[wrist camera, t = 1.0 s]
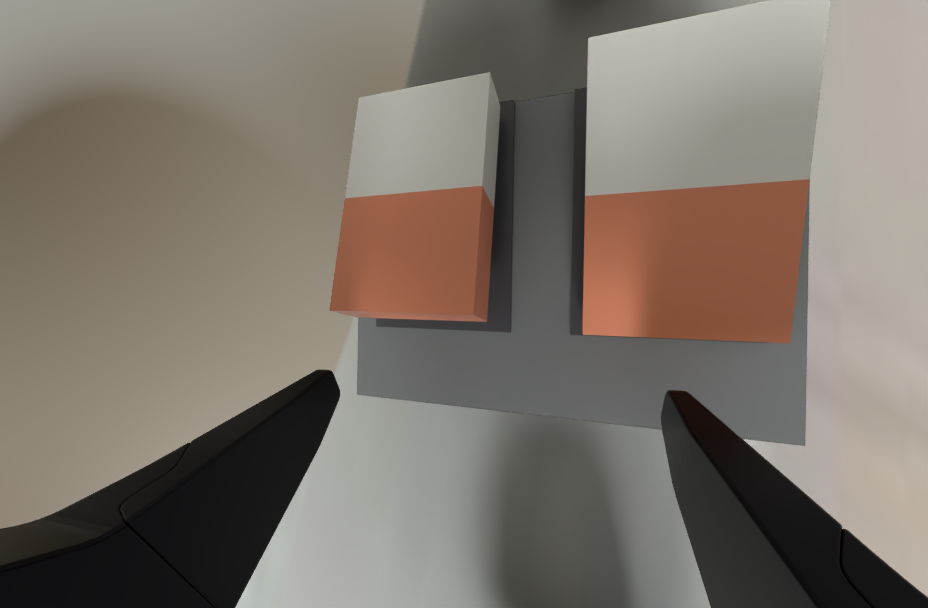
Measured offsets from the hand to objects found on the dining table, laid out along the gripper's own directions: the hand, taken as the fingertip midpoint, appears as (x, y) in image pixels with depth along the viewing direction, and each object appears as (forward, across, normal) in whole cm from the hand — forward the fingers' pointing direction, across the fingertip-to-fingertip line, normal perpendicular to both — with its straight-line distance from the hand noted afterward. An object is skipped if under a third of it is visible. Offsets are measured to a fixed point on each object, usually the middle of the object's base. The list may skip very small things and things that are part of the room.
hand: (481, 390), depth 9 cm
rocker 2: (+5, -5, -4) cm, 8 cm away
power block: (+12, -2, +2) cm, 12 cm away
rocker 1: (+6, +3, -3) cm, 7 cm away
